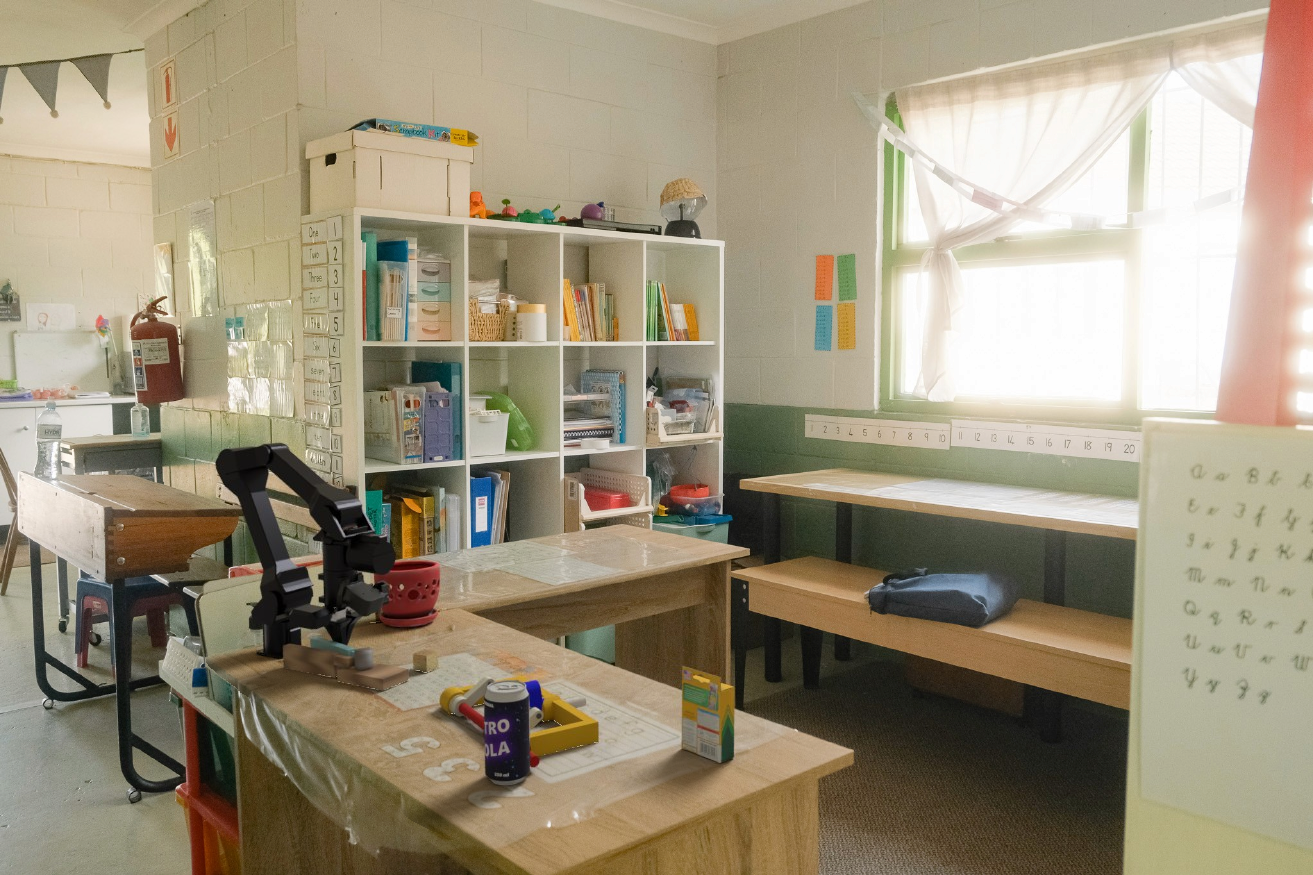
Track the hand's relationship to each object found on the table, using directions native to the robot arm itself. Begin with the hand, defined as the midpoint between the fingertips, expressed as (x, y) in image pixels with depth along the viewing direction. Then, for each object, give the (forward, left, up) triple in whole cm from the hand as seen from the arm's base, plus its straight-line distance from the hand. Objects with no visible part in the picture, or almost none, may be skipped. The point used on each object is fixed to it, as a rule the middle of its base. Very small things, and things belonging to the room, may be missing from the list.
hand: (342, 653), depth 174 cm
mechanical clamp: (+48, -10, -2) cm, 49 cm away
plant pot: (-8, +26, -2) cm, 27 cm away
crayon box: (+75, -8, -2) cm, 75 cm away
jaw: (+2, -3, -2) cm, 4 cm away
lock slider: (+16, +3, -1) cm, 17 cm away
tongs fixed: (+6, -6, -1) cm, 9 cm away
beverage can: (+56, -27, -2) cm, 62 cm away
